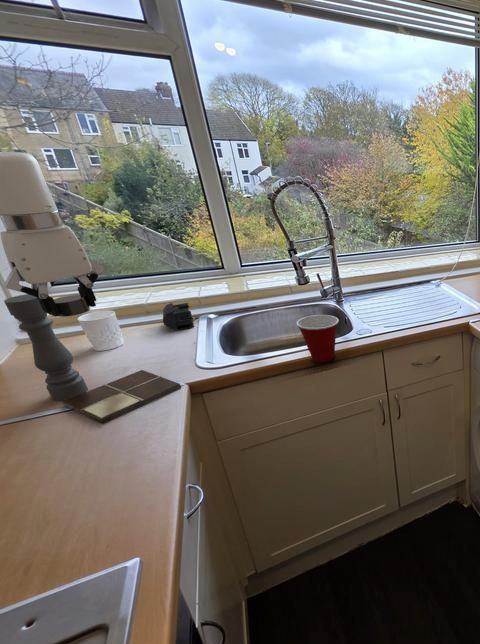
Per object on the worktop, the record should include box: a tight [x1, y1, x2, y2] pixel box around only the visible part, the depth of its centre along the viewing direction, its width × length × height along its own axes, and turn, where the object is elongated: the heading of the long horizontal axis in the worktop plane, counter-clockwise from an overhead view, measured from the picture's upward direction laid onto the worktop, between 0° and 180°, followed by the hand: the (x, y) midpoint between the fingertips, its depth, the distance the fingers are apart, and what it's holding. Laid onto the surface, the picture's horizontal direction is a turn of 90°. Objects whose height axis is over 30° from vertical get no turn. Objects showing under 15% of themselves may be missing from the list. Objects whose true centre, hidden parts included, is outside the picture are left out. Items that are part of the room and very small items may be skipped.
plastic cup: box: [296, 314, 340, 363], centre depth 116 cm, size 11×11×12 cm
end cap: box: [162, 302, 195, 331], centre depth 135 cm, size 10×7×7 cm
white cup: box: [77, 309, 125, 352], centre depth 120 cm, size 8×8×10 cm
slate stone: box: [53, 294, 91, 318], centre depth 84 cm, size 5×5×3 cm
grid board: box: [61, 369, 182, 425], centre depth 98 cm, size 16×16×1 cm
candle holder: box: [3, 293, 89, 402], centre depth 94 cm, size 6×6×25 cm
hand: (72, 309), depth 84 cm, fingers closed on slate stone, 5 cm apart
